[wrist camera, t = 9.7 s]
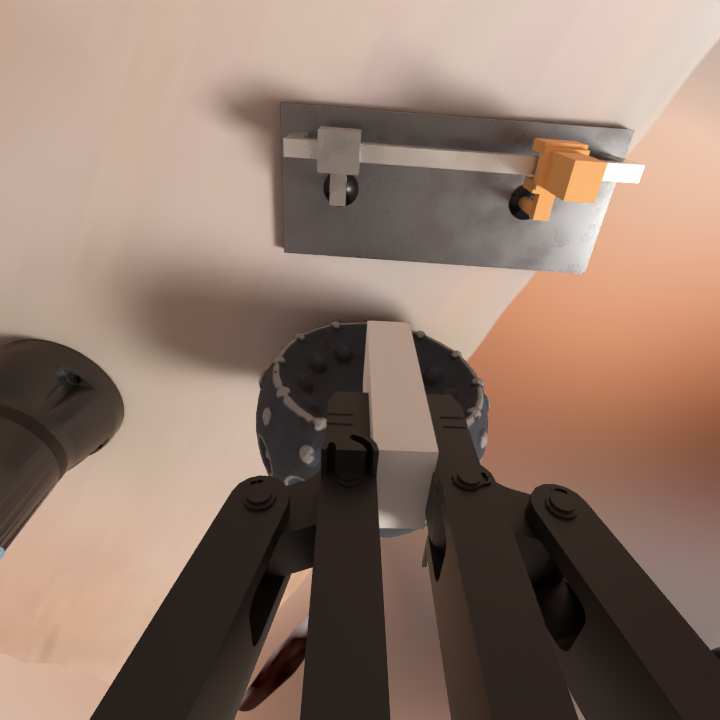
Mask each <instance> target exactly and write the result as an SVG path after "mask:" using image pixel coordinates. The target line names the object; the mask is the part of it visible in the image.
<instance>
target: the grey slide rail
mask: <svg viewBox="0 0 720 720" xmlns="http://www.w3.org/2000/svg"><path fill="white" fill-rule="evenodd" d="M361 133H362V129H353V128H340V127H327V126H321V127H319V128H318V139H313V138H309V132H296V131H293V132H292V133H290V134H289V135H287V136H286V137H284V138H283V152H284V157H294V158H308V159H317V173H330V199H329V205H333V206H345V204H346V191H347V187H346V185H347V175H357V176H358V175H359V166H360V162H362V163H375V164H388V165H402V166H415V167H429V168H442V169H455V170H469V171H482V172H496V173H509V174H523V175H535V171H536V167H537V163H538V159H539V155H525V154H512V153H499V152H486V151H472V150H459V149H446V148H432V147H419V146H406V145H392V144H379V143H366V142H361ZM597 159H599V160H602V161H604V162H607V163H608V164H607V167H606V170H605V173H604V176H603V179H602V180H603V181H616V182H631V183H639V180H640V177H641V174H642V172H643V169H644V166H645V165H642V164H639V163H635V162H632V161H629V160H626V159H623V158H620V157H617V156H613V155H601V154H599V155H598V158H597Z"/></svg>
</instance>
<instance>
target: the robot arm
mask: <svg viewBox="0 0 720 720" xmlns="http://www.w3.org/2000/svg"><path fill="white" fill-rule="evenodd" d="M123 418H124V405H123V401H122V398H121V395H120V393H119V391H118V389H117V387H116V385H115V384H114V383H113V381H112V380H111V379H110V377H109V376H108V375H107V374H106V373H105V372H104V371H103V370H102V369H101V368H100V367H99V366H97V365H96V364H95V363H94V362H92V361H91V360H90V359H88V358H86V357H85V356H83V355H81V354H80V353H78V352H76V351H74V350H72V349H69V348H67V347H64V346H61V345H58V344H55V343H51V342H46V341H38V340H25V341H18V342H14V343H10V344H8V345H6V346H4V347H2V348H0V560H1V559H2V558H3V556H4V554H5V551H6V549H7V548H8V547H9V545H10V544H11V543H12V541H13V540H14V539H15V538H16V536H17V535H18V534H19V532H20V531H21V530H22V528H23V527H24V526H25V525H26V523H27V522H28V521H29V519H30V518H31V517H32V515H33V514H34V513H35V512H36V510H37V509H38V508H39V506H40V505H41V504H42V502H43V501H44V500H45V499H46V497H47V496H48V495H49V493H50V492H51V491H52V489H53V488H54V487H55V485H56V484H57V483H58V481H59V480H60V479H61V478H62V476H63V475H64V474H65V473H66V472H67V471H68V470H70V469H71V468H73V467H74V466H76V465H77V464H79V463H80V462H82V461H83V460H84V459H85V458H87V457H88V456H89V455H91V454H94V453H96V452H97V451H99V450H100V449H102V448H103V447H104V446H105V445H107V444H108V443H109V441H110V440H111V439H112V438H113V436H114V435H115V433H116V432H117V431H118V429H119V428H120V426H121V424H122V421H123ZM425 518H426V521H427V527H428V536H427V540H426V545H425V550H424V555H423V561H422V567H426V566H427V561H428V565H429V573H430V579H431V586H432V593H433V599H434V606H435V613H436V620H437V627H438V633H439V640H440V647H441V653H442V660H443V667H444V673H445V681H446V687H447V694H448V701H449V707H450V714H451V720H579V719H578V716H577V714H576V711H575V708H574V705H573V702H572V699H571V696H570V693H569V691H570V692H571V694H572V696H573V698H574V700H575V701H576V703H577V705H578V707H579V709H580V711H581V712H582V714H583V716H584V718H585V720H720V661H719V660H718V658H717V657H716V656H715V655H714V654H713V652H712V651H711V650H710V649H709V648H708V647H707V645H706V644H705V643H704V642H703V641H702V639H701V638H700V637H699V636H698V635H697V633H696V632H695V631H694V630H693V629H692V628H691V626H690V625H689V624H688V623H687V622H686V620H685V619H684V618H683V617H682V616H681V614H680V613H679V612H678V611H677V610H676V608H675V607H674V606H673V605H672V604H671V602H670V601H669V600H668V599H667V598H666V597H665V595H664V594H663V593H662V592H661V591H660V589H659V588H658V587H657V586H656V585H655V583H654V582H653V581H652V580H651V579H650V578H649V576H648V575H647V574H646V573H645V572H644V570H643V569H642V568H641V567H640V566H639V564H638V563H637V562H636V561H635V560H634V558H633V557H632V556H631V555H630V554H629V553H628V551H627V550H626V549H625V548H624V547H623V545H622V544H621V543H620V542H619V541H618V539H617V538H616V537H615V536H614V535H613V534H612V532H611V531H610V530H609V529H608V527H607V526H606V525H605V524H604V523H603V522H602V520H601V519H600V518H599V517H598V516H597V515H596V513H595V512H594V511H593V510H592V508H591V507H590V506H589V505H588V504H587V503H586V501H584V500H583V499H582V498H581V497H580V496H579V495H578V494H577V493H575V492H573V491H571V490H570V489H568V488H566V487H563V486H559V485H555V484H543V485H541V486H538V487H536V488H535V489H534V491H533V492H532V494H531V495H530V494H527V493H523V492H520V491H516V490H513V489H510V488H507V487H504V486H502V485H500V484H498V483H497V482H496V481H495V479H494V478H493V476H492V474H491V473H490V472H489V471H488V470H487V469H485V468H484V467H483V466H481V465H480V462H479V459H478V456H477V453H476V450H475V447H474V444H473V440H472V437H471V434H470V431H469V429H468V425H467V422H466V420H465V416H464V413H463V410H462V407H461V405H460V404H459V403H458V402H457V401H456V400H455V399H454V398H453V397H452V396H451V395H440V394H426V393H425V389H424V384H423V380H422V376H421V371H420V367H419V362H418V358H417V353H416V349H415V345H414V340H413V336H412V331H411V327H410V322H388V321H367V333H366V347H365V361H364V375H363V392H340V391H336V392H335V393H334V395H333V396H332V397H331V398H330V400H329V401H328V411H327V422H326V434H325V441H324V443H323V446H322V448H321V468H320V469H319V471H318V472H317V473H316V474H315V475H314V476H313V477H311V478H309V479H307V480H305V481H302V482H299V483H296V484H292V485H287V486H286V485H285V484H284V483H283V482H282V481H281V480H279V479H277V478H274V477H272V476H256V477H252V478H248V479H246V480H245V481H243V482H241V483H239V484H238V485H237V486H236V487H235V489H234V490H233V491H232V492H231V494H230V495H229V497H228V498H227V500H226V502H225V503H224V505H223V506H222V508H221V510H220V511H219V513H218V514H217V516H216V518H215V519H214V521H213V522H212V524H211V526H210V527H209V529H208V530H207V532H206V534H205V535H204V537H203V539H202V540H201V542H200V543H199V545H198V547H197V548H196V550H195V551H194V553H193V555H192V556H191V558H190V559H189V561H188V563H187V564H186V566H185V567H184V569H183V571H182V572H181V574H180V575H179V577H178V579H177V580H176V582H175V583H174V585H173V587H172V588H171V590H170V591H169V593H168V595H167V596H166V598H165V599H164V601H163V603H162V604H161V606H160V607H159V609H158V611H157V612H156V614H155V615H154V617H153V619H152V620H151V622H150V623H149V625H148V627H147V628H146V630H145V631H144V633H143V635H142V636H141V638H140V640H139V641H138V643H137V644H136V646H135V648H134V649H133V651H132V652H131V654H130V656H129V657H128V659H127V660H126V662H125V664H124V665H123V667H122V668H121V670H120V672H119V673H118V675H117V676H116V678H115V680H114V681H113V683H112V685H111V686H110V688H109V689H108V691H107V692H106V694H105V696H104V697H103V699H102V700H101V702H100V704H99V706H98V707H97V708H96V710H95V712H94V713H93V715H92V716H91V718H90V720H234V719H235V716H236V714H237V711H238V708H239V706H240V703H241V701H242V698H243V696H244V693H245V691H246V688H247V686H248V683H249V680H250V678H251V675H252V673H253V670H254V668H255V665H256V663H257V660H258V658H259V655H260V652H261V650H262V647H263V645H264V642H265V640H266V637H267V635H268V632H269V630H270V627H271V624H272V622H273V620H274V617H275V614H276V612H277V609H278V607H279V604H280V602H281V599H282V597H283V594H284V592H285V589H286V586H287V584H288V581H289V579H290V576H291V574H292V573H295V572H298V571H302V570H305V569H308V568H312V567H313V574H312V584H311V596H310V608H309V620H308V631H307V643H306V655H305V667H304V679H303V691H302V702H301V715H300V720H390V706H389V688H388V671H387V653H386V636H385V618H384V600H383V582H382V566H381V548H380V530H379V528H399V529H423V528H424V523H425ZM567 687H568V688H567ZM568 689H569V691H568Z"/></svg>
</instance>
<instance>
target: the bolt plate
mask: <svg viewBox="0 0 720 720" xmlns="http://www.w3.org/2000/svg"><path fill="white" fill-rule="evenodd" d="M321 126H327V127H340V128H353V129H362V133H361V142H366V143H379V144H392V145H406V146H419V147H432V148H446V149H459V150H472V151H486V152H499V153H512V154H525V155H540V153H538V152H536V151H533V150H532V147H533V143H534V139H535V138H542V139H556V140H569V141H577V142H580V143H583V144H587V145H589V146H588V149H587V150H589V151H590V153H589V156H590V157H593V158H596V159H597V158H598V155H599V154H601V155H613V156H617V157H620V158H623V159H625V156H626V153H627V150H628V147H629V144H630V142H631V139H632V136H633V133H634V130H631V129H621V128H608V127H595V126H582V125H569V124H556V123H543V122H529V121H516V120H503V119H490V118H477V117H464V116H451V115H438V114H425V113H412V112H399V111H386V110H372V109H359V108H346V107H333V106H320V105H307V104H294V103H281V143H282V182H283V221H284V252H285V253H299V254H313V255H327V256H341V257H355V258H369V259H383V260H397V261H411V262H425V263H439V264H453V265H467V266H481V267H496V268H510V269H524V270H538V271H552V272H566V273H580V274H584V272H585V270H586V267H587V264H588V261H589V258H590V256H591V253H592V250H593V247H594V244H595V241H596V238H597V236H598V233H599V230H600V227H601V224H602V221H603V218H604V216H605V213H606V210H607V207H608V204H609V201H610V198H611V196H612V193H613V190H614V187H615V184H616V181H603V180H602V182H601V185H600V188H599V191H598V194H597V197H596V200H595V203H583V202H570V201H563V200H561V199H559V198H558V197H556V196H555V199H554V203H553V206H552V210H551V213H550V217H549V220H548V221H539V220H532V219H531V218H530V217H529V215H528V214H527V213H526V212H525V211H523V210H522V209H521V208H520V207H519V205H518V202H519V200H520V199H521V198H522V197H528V198H530V199H531V200H532V201H533V199H534V196H535V194H534V193H531V192H530V191H528V190H527V189H525V188H524V187H523V183H524V179H525V176H534V175H523V174H509V173H496V172H482V171H469V170H455V169H442V168H429V167H415V166H402V165H388V164H375V163H362V162H360V166H359V175H358V176H357V175H347V185H346V187H347V191H346V204H345V206H333V205H329V199H330V173H317V159H308V158H294V157H284V152H283V138H284V137H286V136H287V135H289V134H290V133H292V132H293V131H296V132H309V138H313V139H318V128H319V127H321Z"/></svg>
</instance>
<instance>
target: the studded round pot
mask: <svg viewBox="0 0 720 720" xmlns="http://www.w3.org/2000/svg"><path fill="white" fill-rule="evenodd" d="M366 333H367V323H360V322H355V323H339V322H337V321H333V322H332V323H331V324H330V325H326V326H322V327H318V328H316V329H313V330H311V331H308V332H305V333H297V334H295V335H294V337H293V339H292V340H291V341H290V342H289V343H288V344H287V345H286V346H284V347H283V349H282V350H281V351H280V352H279V354H278V355H277V356H275V357H274V358H273V359H272V364H271V366H270V368H269V369H268V370H266V371H265V372H263V374H262V375H261V378H260V380H259V385H260V389H261V390H260V394H259V399H258V405H257V412H256V432H257V439H258V445H259V450H260V454H261V457H262V460H263V463H264V465H265V468H266V470H267V473H268V475H269V476H272V477H274V478H277V479H279V480H281V481H282V482H283V483H284V484H285V485H286V486H287V485H292V484H296V483H299V482H302V481H305V480H307V479H309V478H311V477H313V476H314V475H315V474H316V473H317V472H318V471H319V469H320V468H321V448H322V446H323V443H324V441H325V434H326V422H327V411H328V401H329V400H330V398H331V397H332V396H333V395H334V393H335V392H336V391H340V392H363V375H364V361H365V347H366ZM412 336H413V340H414V345H415V349H416V353H417V358H418V362H419V367H420V371H421V376H422V380H423V384H424V389H425V393H426V394H440V395H451V396H452V397H453V398H454V399H455V400H456V401H457V402H458V403H459V404H460V405H461V407H462V410H463V413H464V416H465V420H466V422H467V425H468V429H469V431H470V434H471V437H472V440H473V444H474V447H475V450H476V453H477V456H478V459H479V462H481V460H482V458H483V454H484V451H485V446H486V443H487V432H488V415H487V413H488V411H489V408H490V402H489V399H488V397H487V396H486V395H485V394H484V391H483V387H484V383H483V381H482V380H481V379H480V378H478V377H477V375H476V373H475V372H474V370H473V369H472V368H471V366H470V365H469V364H468V363H467V362H466V361H465V360H464V359H463V358H462V355H461V352H459V351H453V350H452V349H450V348H449V347H447V346H445V345H444V344H442V343H440V342H438V341H436V340H434V339H432V338H430V337H428V336H426V334H425V333H424V332H423V331H418V332H415V331H412ZM425 526H427V521H426V518H425V523H424V527H425ZM379 530H380V538H392V537H396V536H401V535H404V534H407V533H410V532H413V531H416V530H418V529H399V528H379Z"/></svg>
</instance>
